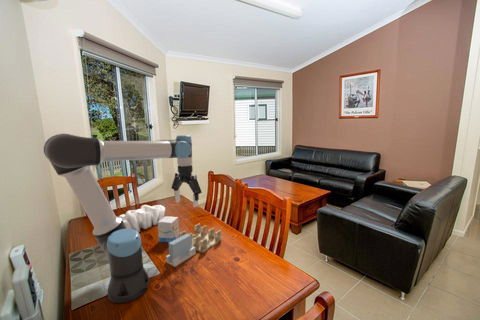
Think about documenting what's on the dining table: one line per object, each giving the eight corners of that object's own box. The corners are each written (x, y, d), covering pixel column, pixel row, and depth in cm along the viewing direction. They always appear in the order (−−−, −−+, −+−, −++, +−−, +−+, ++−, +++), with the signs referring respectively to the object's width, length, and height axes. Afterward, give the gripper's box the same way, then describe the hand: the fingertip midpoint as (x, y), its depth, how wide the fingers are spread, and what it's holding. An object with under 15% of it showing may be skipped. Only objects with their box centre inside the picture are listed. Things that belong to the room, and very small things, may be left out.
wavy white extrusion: (118, 240, 130) (116, 222, 129) (107, 231, 141) (105, 215, 140) (172, 220, 156) (171, 205, 155) (159, 214, 167) (158, 200, 165)
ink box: (172, 243, 125) (171, 222, 124) (158, 241, 127) (156, 221, 125) (179, 235, 134) (178, 216, 132) (166, 234, 135) (165, 215, 134)
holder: (174, 267, 104) (174, 260, 103) (165, 262, 108) (165, 256, 107) (196, 253, 114) (195, 247, 114) (187, 249, 118) (187, 243, 118)
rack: (202, 253, 115) (201, 242, 114) (179, 243, 124) (179, 233, 124) (221, 240, 127) (221, 230, 126) (199, 232, 136) (199, 223, 136)
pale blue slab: (174, 262, 106) (172, 244, 104) (169, 260, 107) (168, 243, 106) (191, 252, 114) (190, 235, 113) (187, 250, 116) (186, 233, 115)
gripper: (207, 166, 116) (208, 206, 119) (174, 162, 129) (176, 198, 132) (197, 168, 109) (198, 210, 112) (163, 163, 123) (165, 201, 126)
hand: (186, 204), depth 122 cm, fingers open, 13 cm apart
